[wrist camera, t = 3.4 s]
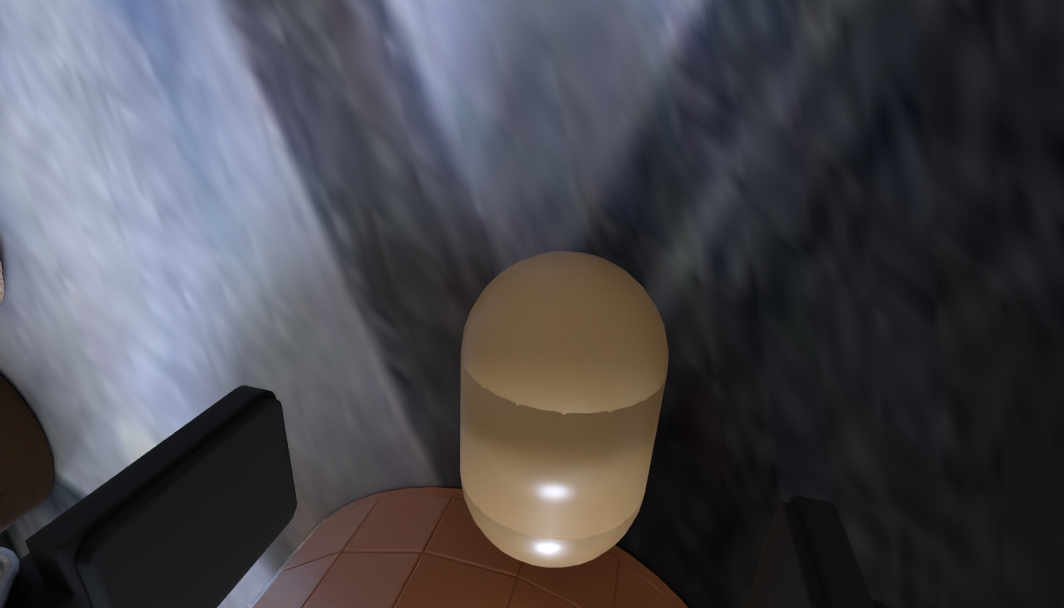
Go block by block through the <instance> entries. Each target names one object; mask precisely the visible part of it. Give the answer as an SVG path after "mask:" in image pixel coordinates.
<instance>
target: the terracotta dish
mask: <svg viewBox="0 0 1064 608" xmlns="http://www.w3.org/2000/svg"><path fill="white" fill-rule="evenodd" d="M248 608H688V607H687V606H686V605H685V603H684V602H683V601H682V600H681V599H680V598H679V597H678V596H677V595H676V594H675V593H674V592H673V591H672V590H671V589H670V588H669V587H668V586H667V585H666V584H665V583H664V582H663V581H662V580H661V579H660V578H659V577H658V576H657V575H655V574H654V573H653V572H652V571H650V570H649V569H648V568H647V567H645V566H644V565H643V564H642V563H640V562H639V561H638V560H637V559H635V558H634V557H633V556H632V555H630V554H629V553H627V552H625V551H624V550H622V549H621V548H619V547H618V546H616V545H614V546H613V547H611V548H610V549H609V550H607V551H606V552H604V553H603V554H601V555H600V556H598V557H596V558H595V559H593V560H590V561H588V562H585V563H582V564H580V565H574V566H568V567H541V566H535V565H532V564H529V563H526V562H523V561H520V560H517V559H515V558H513V557H511V556H510V555H508V554H506V553H504V552H502V551H501V550H500V549H499V548H498V547H496V546H495V545H494V544H493V543H492V542H491V541H490V540H489V539H488V538H487V537H486V536H485V534H484V533H483V532H482V531H481V529H480V528H479V527H478V526H477V524H476V523H475V521H474V519H473V517H472V515H471V513H470V511H469V508H468V506H467V503H466V501H465V498H464V494H463V489H456V488H441V487H422V488H403V489H398V490H392V491H386V492H381V493H376V494H373V495H370V496H367V497H364V498H361V499H358V500H355V501H353V502H351V503H349V504H347V505H345V506H344V507H342V508H340V509H338V510H336V511H334V512H333V513H331V514H330V515H329V516H328V517H326V518H325V519H324V520H323V521H321V522H320V523H319V524H318V525H317V526H316V527H315V528H314V529H313V531H312V532H311V533H310V534H309V535H308V537H307V538H306V539H305V540H304V541H303V542H302V543H301V544H300V545H299V546H298V547H297V548H296V549H295V550H294V551H293V553H292V554H291V555H290V556H289V557H288V558H287V560H286V561H285V562H284V563H283V565H282V566H281V567H280V568H279V569H278V571H277V572H276V573H275V574H274V576H273V577H272V578H271V579H270V581H269V582H268V583H267V584H266V586H265V587H264V588H263V589H262V590H261V592H260V593H259V594H258V595H257V597H256V598H255V599H254V600H253V602H252V603H251V604H250V606H249V607H248Z"/></svg>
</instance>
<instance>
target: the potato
mask: <svg viewBox="0 0 1064 608" xmlns="http://www.w3.org/2000/svg"><path fill="white" fill-rule="evenodd" d="M668 356H669V351H668V345H667V338H666V332H665V327H664V323H663V321H662V318H661V316H660V313H659V311H658V309H657V307H656V305H655V304H654V302H653V300H652V299H651V298H650V296H649V295H648V293H647V292H646V290H645V289H644V287H643V286H642V285H641V284H640V283H639V282H637V281H636V280H635V279H634V278H633V277H632V276H631V275H630V274H629V273H627V272H626V271H625V270H624V269H622V268H620V267H619V266H617V265H615V264H613V263H611V262H609V261H607V260H606V259H603V258H601V257H598V256H595V255H592V254H587V253H582V252H573V251H552V252H545V253H541V254H538V255H535V256H532V257H529V258H526V259H523V260H521V261H518V262H517V263H515V264H513V265H512V266H510V267H509V268H507V269H505V270H504V271H502V272H501V273H500V274H499V275H497V276H496V277H495V278H494V279H493V280H492V281H491V282H490V283H489V284H488V285H487V286H486V287H485V288H484V290H483V291H482V293H481V295H480V296H479V298H478V299H477V301H476V303H475V304H474V306H473V307H472V309H471V311H470V313H469V316H468V319H467V322H466V325H465V327H464V333H463V341H462V348H461V405H460V474H461V482H462V488H463V494H464V498H465V501H466V503H467V506H468V508H469V511H470V513H471V515H472V517H473V519H474V521H475V523H476V524H477V526H478V527H479V528H480V529H481V531H482V532H483V533H484V534H485V536H486V537H487V538H488V539H489V540H490V541H491V542H492V543H493V544H494V545H495V546H496V547H498V548H499V549H500V550H501V551H502V552H504V553H506V554H508V555H510V556H511V557H513V558H515V559H517V560H520V561H523V562H526V563H529V564H532V565H535V566H541V567H568V566H574V565H580V564H582V563H585V562H588V561H590V560H593V559H595V558H596V557H598V556H600V555H601V554H603V553H604V552H606V551H607V550H609V549H610V548H611V547H613V546H614V545H615V544H616V543H617V542H618V541H619V540H620V539H621V538H622V537H623V536H624V535H625V533H626V532H627V530H628V529H629V528H630V526H631V525H632V523H633V521H634V519H635V518H636V516H637V514H638V512H639V509H640V506H641V503H642V500H643V497H644V494H645V489H646V484H647V478H648V473H649V468H650V462H651V457H652V452H653V446H654V441H655V436H656V430H657V425H658V420H659V414H660V409H661V403H662V398H663V393H664V387H665V382H666V377H667V371H668Z"/></svg>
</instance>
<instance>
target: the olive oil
mask: <svg viewBox="0 0 1064 608" xmlns="http://www.w3.org/2000/svg"><path fill="white" fill-rule="evenodd" d="M53 481H54V464H53V459H52V454H51V451H50V448H49V445H48V442H47V440H46V438H45V435H44V433H43V431H42V429H41V427H40V425H39V424H38V422H37V420H36V419H35V417H34V415H33V414H32V412H31V411H30V409H29V408H28V406H27V405H26V404H25V402H24V401H23V400H22V398H21V397H20V396H19V395H18V393H17V392H16V391H15V390H14V389H13V388H12V387H11V385H10V384H9V383H8V382H7V381H6V380H5V379H4V378H3V377H2V376H1V375H0V533H1V532H3V531H4V530H5V529H7V528H8V527H10V526H11V525H13V524H14V523H15V522H17V521H18V520H20V519H21V518H22V517H24V516H25V515H27V514H28V513H29V512H31V511H32V510H34V509H35V508H36V507H38V506H39V505H40V504H41V503H42V502H43V501H44V500H45V499H46V498H47V497H48V495H49V494H50V492H51V489H52V485H53Z"/></svg>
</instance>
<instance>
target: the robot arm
mask: <svg viewBox="0 0 1064 608" xmlns="http://www.w3.org/2000/svg"><path fill="white" fill-rule="evenodd" d="M296 507H297V499H296V492H295V486H294V480H293V474H292V467H291V461H290V455H289V448H288V442H287V436H286V430H285V423H284V417H283V411H282V405H281V403H280V401H279V400H277V399H276V396H275V394H274V393H273V392H272V391H269V390H265V389H260V388H255V387H250V386H240V387H238V388H236V389H234V390H233V391H232V392H230V393H229V394H227V395H226V396H225V397H223V398H222V399H221V400H219V401H218V402H216V403H215V404H214V405H212V406H211V407H209V408H208V409H207V410H205V411H204V412H203V413H201V414H200V415H198V416H197V417H196V418H194V419H193V420H192V421H190V422H189V423H187V424H186V425H185V426H183V427H182V428H180V429H179V430H178V431H176V432H175V433H174V434H172V435H171V436H169V437H168V438H167V439H165V440H164V441H162V442H161V443H160V444H158V445H157V446H156V447H154V448H153V449H151V450H150V451H149V452H147V453H146V454H144V455H143V456H142V457H140V458H139V459H138V460H136V461H135V462H133V463H132V464H131V465H129V466H128V467H126V468H125V469H124V470H122V471H121V472H120V473H118V474H117V475H115V476H114V477H113V478H111V479H110V480H109V481H107V482H106V483H104V484H103V485H102V486H100V487H99V488H97V489H96V490H95V491H93V492H92V493H91V494H89V495H88V496H86V497H85V498H84V499H82V500H81V501H79V502H78V503H77V504H75V505H74V506H73V507H71V508H70V509H68V510H67V511H66V512H64V513H63V514H61V515H60V516H59V517H57V518H56V519H55V520H53V521H52V522H50V523H49V524H48V525H46V526H45V527H43V528H42V529H41V530H39V531H38V532H37V533H35V534H34V535H32V536H31V537H30V538H28V539H27V540H26V541H25V542H26V545H27V547H28V549H29V551H30V553H29V554H28V555H26V556H25V557H24V558H22V559H21V560H20V561H19V560H18V558H17V557H16V555H15V553H14V552H13V551H11V550H8V549H6V548H4V547H0V608H217V607H218V606H219V605H220V603H221V602H222V601H223V600H224V599H225V598H226V596H227V595H228V594H229V593H230V592H231V591H232V589H233V588H234V587H235V586H236V585H237V583H238V582H239V581H240V580H241V579H242V578H243V576H244V575H245V574H246V573H247V572H248V570H249V569H250V568H251V567H252V566H253V565H254V563H255V562H256V561H257V560H258V559H259V558H260V556H261V555H262V554H263V553H264V552H265V550H266V549H267V548H268V547H269V546H270V545H271V543H272V542H273V541H274V540H275V539H276V538H277V536H278V535H279V534H280V533H281V532H282V530H283V529H284V528H285V527H286V526H287V525H288V523H289V522H290V521H291V519H292V518H293V516H294V514H295V511H296ZM745 608H889V607H888V606H887V605H886V604H885V603H884V602H881V601H877V600H873V599H871V597H870V594H869V592H868V589H867V587H866V584H865V581H864V579H863V576H862V574H861V571H860V568H859V566H858V563H857V561H856V558H855V555H854V553H853V550H852V548H851V545H850V542H849V540H848V537H847V535H846V532H845V530H844V527H843V524H842V522H841V519H840V517H839V514H838V511H837V509H836V507H835V505H834V504H832V503H831V502H826V501H821V500H816V499H811V498H806V497H801V496H793V497H792V498H791V500H790V503H785V502H780V503H779V504H778V506H777V509H776V512H775V515H774V518H773V521H772V524H771V527H770V530H769V533H768V537H767V540H766V543H765V546H764V549H763V552H762V555H761V558H760V561H759V564H758V568H757V571H756V574H755V577H754V580H753V583H752V586H751V589H750V592H749V595H748V598H747V602H746V605H745Z"/></svg>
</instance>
